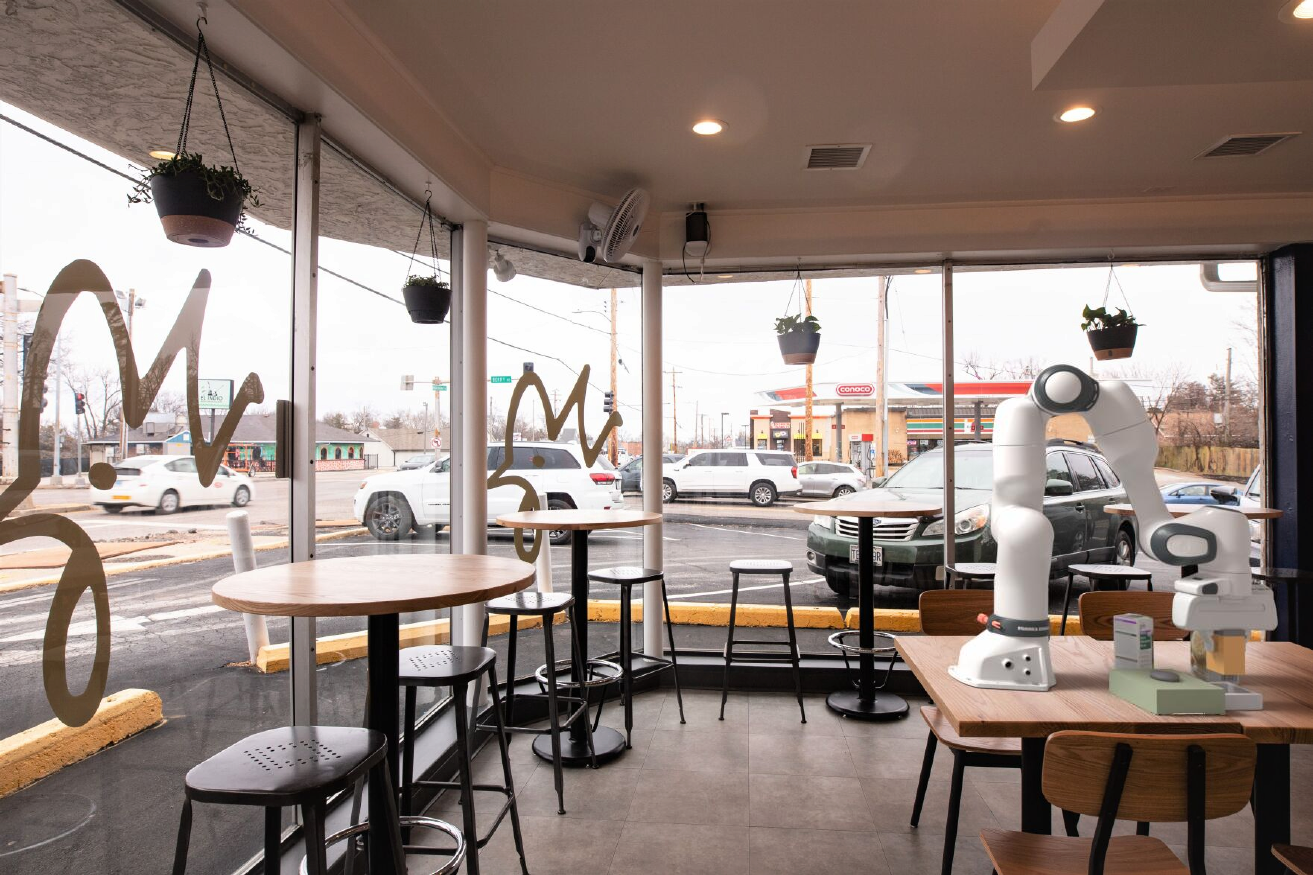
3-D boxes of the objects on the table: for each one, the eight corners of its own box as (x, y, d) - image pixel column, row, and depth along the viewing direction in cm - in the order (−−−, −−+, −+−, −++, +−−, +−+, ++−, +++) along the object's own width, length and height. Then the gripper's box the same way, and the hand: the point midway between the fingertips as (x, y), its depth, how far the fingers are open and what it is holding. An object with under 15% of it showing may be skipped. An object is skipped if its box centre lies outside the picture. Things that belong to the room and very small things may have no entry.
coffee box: (1188, 671, 176) (1188, 603, 177) (1219, 673, 175) (1218, 605, 175) (1209, 683, 167) (1208, 611, 168) (1241, 685, 166) (1241, 613, 166)
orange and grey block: (1224, 674, 151) (1223, 630, 151) (1206, 668, 156) (1205, 625, 156) (1245, 674, 151) (1245, 630, 152) (1227, 668, 156) (1226, 625, 156)
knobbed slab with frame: (1156, 715, 145) (1156, 684, 145) (1109, 692, 159) (1109, 664, 159) (1274, 714, 147) (1274, 683, 147) (1217, 691, 161) (1217, 664, 161)
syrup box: (1140, 684, 165) (1139, 619, 165) (1113, 677, 170) (1113, 614, 171) (1154, 681, 168) (1154, 617, 168) (1128, 674, 173) (1127, 612, 173)
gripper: (1259, 581, 158) (1259, 647, 157) (1166, 581, 157) (1167, 647, 156) (1285, 587, 151) (1286, 655, 151) (1189, 586, 150) (1190, 655, 150)
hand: (1225, 651), depth 154 cm, fingers closed on orange and grey block, 4 cm apart
